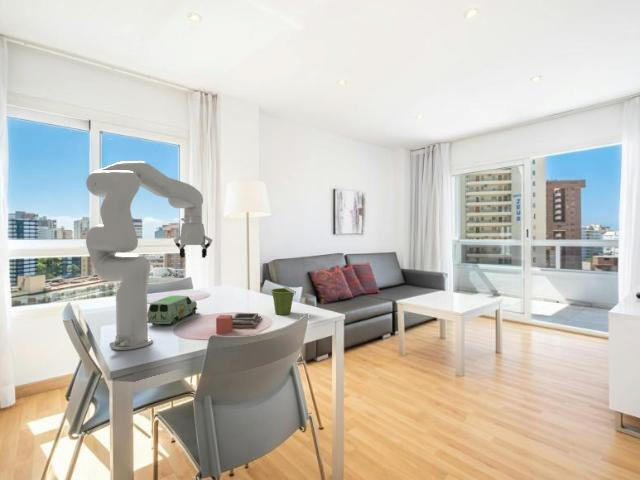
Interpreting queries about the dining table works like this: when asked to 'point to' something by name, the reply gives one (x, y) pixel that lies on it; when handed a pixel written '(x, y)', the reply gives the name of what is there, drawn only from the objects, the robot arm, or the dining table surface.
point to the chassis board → (245, 320)
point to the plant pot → (282, 300)
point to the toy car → (171, 309)
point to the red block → (224, 324)
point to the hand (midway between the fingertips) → (193, 257)
